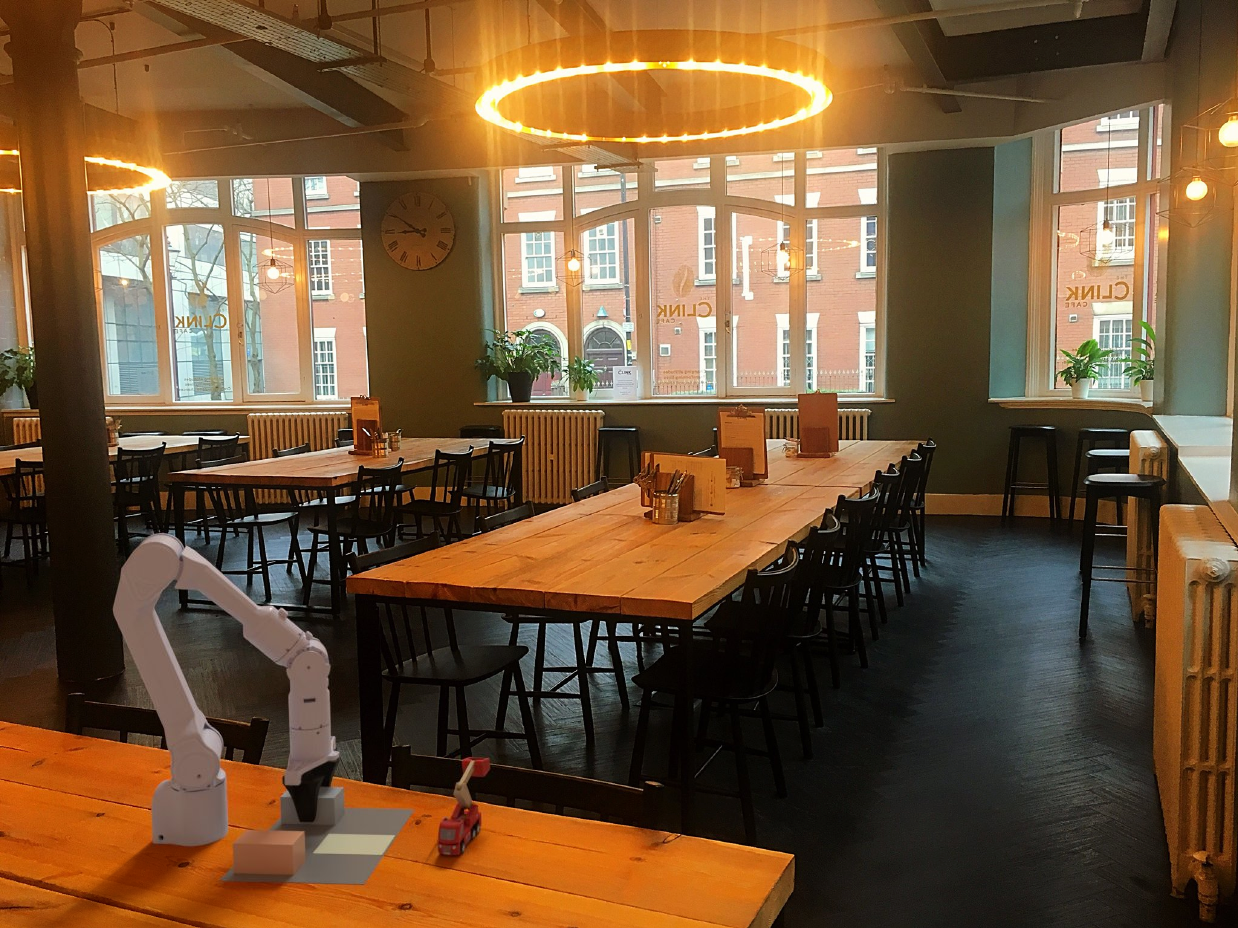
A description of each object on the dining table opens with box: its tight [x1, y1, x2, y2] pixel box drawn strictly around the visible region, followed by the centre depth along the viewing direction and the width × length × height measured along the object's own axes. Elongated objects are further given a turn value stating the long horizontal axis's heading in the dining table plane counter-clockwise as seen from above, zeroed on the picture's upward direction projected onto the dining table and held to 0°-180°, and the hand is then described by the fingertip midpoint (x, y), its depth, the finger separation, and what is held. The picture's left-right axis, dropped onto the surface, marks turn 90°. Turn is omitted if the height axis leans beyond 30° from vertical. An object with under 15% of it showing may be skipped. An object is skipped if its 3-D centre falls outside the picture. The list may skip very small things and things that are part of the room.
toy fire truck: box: [437, 756, 491, 856], centre depth 143 cm, size 3×14×10 cm, turn 168°
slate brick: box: [279, 786, 346, 825], centre depth 147 cm, size 8×4×4 cm, turn 86°
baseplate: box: [219, 807, 415, 886], centre depth 139 cm, size 19×23×1 cm
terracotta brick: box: [232, 829, 306, 875], centre depth 132 cm, size 8×4×4 cm, turn 86°
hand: (313, 814), depth 147 cm, fingers closed on slate brick, 4 cm apart
